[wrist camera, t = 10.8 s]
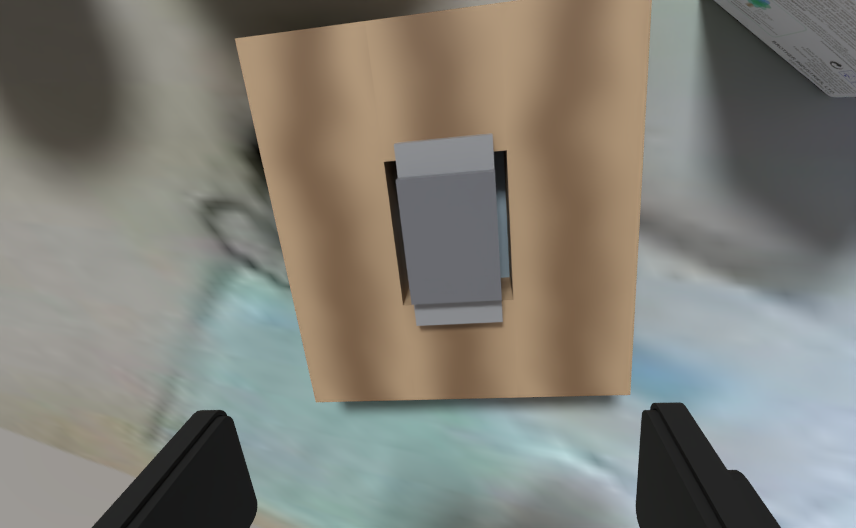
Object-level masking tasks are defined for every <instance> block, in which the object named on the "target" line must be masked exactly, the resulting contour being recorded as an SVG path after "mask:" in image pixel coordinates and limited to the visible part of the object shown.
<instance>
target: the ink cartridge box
mask: <svg viewBox="0 0 856 528" xmlns="http://www.w3.org/2000/svg"><path fill="white" fill-rule="evenodd" d="M714 1H715V2H716V3H718V4H719V5H720V6H721V7H722V8H724V9H725V10H726V11H727V12H728V13H730V14H731V15H732V16H733V17H734V18H736V19H737V20H738V21H739V22H740V23H742V24H743V25H744V26H745V27H746V28H748V29H749V30H750V31H751V32H752V33H754V34H755V35H756V36H757V37H758V38H760V39H761V40H762V41H763V42H764V43H766V44H767V45H768V46H769V47H771V48H772V49H773V50H774V51H775V52H776V53H777V54H779V55H780V56H781V57H782V58H784V59H785V60H786V61H787V62H789V63H790V64H791V65H792V66H793V67H794V68H796V69H797V70H798V71H799V72H801V73H802V74H803V75H804V76H806V77H807V78H808V79H809V80H810V81H812V82H813V83H814V84H815V85H816V86H818V87H819V88H820V89H821V90H822V91H823V92H825V93H826V94H827V95H829V96H830V97H856V0H714Z"/></svg>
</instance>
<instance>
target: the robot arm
mask: <svg viewBox="0 0 856 528" xmlns="http://www.w3.org/2000/svg"><path fill="white" fill-rule="evenodd" d="M256 512H257V499H256V496H255V492H254V489H253V486H252V482H251V479H250V475H249V472H248V469H247V465H246V462H245V459H244V455H243V452H242V448H241V445H240V442H239V438H238V435H237V431H236V428H235V425H234V421H233V419H232V418H231V417H229V416H227V414H226V413H225V412H224V411H222V410H200V411H197V412H196V413H194V414H193V415H192V416H191V418H190V419H189V420H188V421H187V422H186V423H185V424H184V425H183V426H182V428H181V429H180V430H179V431H178V432H177V433H176V434H175V435H174V437H173V438H172V439H171V440H170V441H169V442H168V443H167V444H166V445H165V447H164V448H163V449H162V450H161V451H160V452H159V453H158V454H157V455H156V457H155V458H154V459H153V460H152V461H151V462H150V463H149V464H148V465H147V467H146V468H145V469H144V470H143V471H142V472H141V473H140V474H139V476H138V477H137V478H136V479H135V480H134V481H133V482H132V484H130V486H129V487H128V488H127V489H126V490H125V491H124V492H123V493H122V494H121V496H120V497H119V498H118V499H117V500H116V501H115V502H114V503H113V505H112V506H111V507H110V508H109V509H108V510H107V511H106V512H105V513H104V515H103V516H102V517H101V518H100V519H99V520H98V521H97V522H96V523H95V525H94V526H93V527H92V528H250V526H251V524H252V522H253V520H254V518H255V516H256ZM636 514H637V520H638V523H639V527H640V528H781V527H780V526H779V524H778V523H777V521H776V520H775V518H774V517H773V516H772V514H771V513H770V511H769V510H768V508H767V507H766V505H765V504H764V503H763V501H762V500H761V498H760V497H759V495H758V494H757V492H756V491H755V490H754V488H753V487H752V485H751V484H750V482H749V481H748V480H747V478H746V477H745V476H744V475H743V474H742V473H741V472H739V471H737V470H727V469H726V467H725V466H724V464H723V463H722V461H721V460H720V458H719V456H718V455H717V453H716V452H715V450H714V449H713V447H712V446H711V444H710V443H709V441H708V440H707V438H706V437H705V435H704V434H703V432H702V431H701V429H700V428H699V426H698V425H697V423H696V421H695V420H694V418H693V417H692V415H691V414H690V412H689V411H688V409H687V408H686V406H685V405H684V404H683V403H653V404H652V405H651V408H650V410H644V411H643V412H642V420H641V434H640V449H639V464H638V479H637V494H636Z"/></svg>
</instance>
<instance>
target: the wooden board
mask: <svg viewBox="0 0 856 528" xmlns="http://www.w3.org/2000/svg"><path fill="white" fill-rule="evenodd" d="M651 4H652V0H517V1H510V2H502V3H495V4H488V5H480V6H473V7H465V8H458V9H451V10H443V11H436V12H428V13H421V14H414V15H406V16H399V17H391V18H384V19H377V20H369V21H362V22H354V23H347V24H339V25H332V26H325V27H317V28H310V29H302V30H295V31H288V32H280V33H273V34H265V35H258V36H251V37H243V38H236V39H235V42H236V46H237V51H238V55H239V60H240V64H241V69H242V73H243V78H244V82H245V86H246V91H247V95H248V100H249V104H250V109H251V113H252V118H253V122H254V127H255V131H256V136H257V140H258V145H259V149H260V154H261V158H262V163H263V167H264V172H265V176H266V181H267V185H268V190H269V194H270V199H271V203H272V207H273V212H274V216H275V221H276V225H277V230H278V234H279V239H280V243H281V248H282V252H283V257H284V261H285V266H286V270H287V275H288V279H289V284H290V288H291V293H292V297H293V302H294V306H295V311H296V315H297V320H298V324H299V329H300V333H301V337H302V342H303V346H304V351H305V355H306V360H307V364H308V369H309V373H310V378H311V382H312V387H313V391H314V396H315V400H316V402H345V401H388V400H430V399H473V398H516V397H559V396H602V395H630V387H631V369H632V351H633V332H634V314H635V296H636V278H637V259H638V241H639V223H640V205H641V186H642V168H643V150H644V132H645V113H646V95H647V77H648V59H649V40H650V22H651ZM489 133H492V134H493V152H494V169H495V182H496V200H497V219H498V238H499V256H500V275H501V293H502V317H503V322H492V323H469V324H447V325H425V326H416V318H415V310H414V305H412V304H411V296H410V289H409V281H408V273H407V265H406V257H405V249H404V242H403V234H402V226H401V218H400V210H399V203H398V195H397V187H396V179H397V178H398V175H397V167H396V159H395V151H394V144H395V143H398V142H408V141H419V140H429V139H439V138H449V137H459V136H469V135H479V134H489Z"/></svg>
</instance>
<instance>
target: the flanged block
mask: <svg viewBox="0 0 856 528" xmlns="http://www.w3.org/2000/svg"><path fill="white" fill-rule="evenodd" d="M394 151H395V159H396V167H397V175H398V178H397V179H396V187H397V195H398V203H399V210H400V218H401V226H402V234H403V242H404V249H405V257H406V265H407V273H408V281H409V289H410V296H411V304H412V305H414V310H415V318H416V326H425V325H447V324H469V323H492V322H503V317H502V293H501V275H500V256H499V238H498V219H497V200H496V182H495V169H494V152H493V134H492V133H489V134H479V135H469V136H459V137H449V138H439V139H429V140H419V141H408V142H398V143H395V144H394Z"/></svg>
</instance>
